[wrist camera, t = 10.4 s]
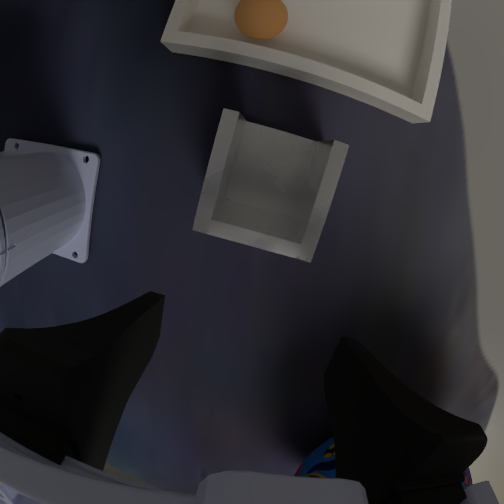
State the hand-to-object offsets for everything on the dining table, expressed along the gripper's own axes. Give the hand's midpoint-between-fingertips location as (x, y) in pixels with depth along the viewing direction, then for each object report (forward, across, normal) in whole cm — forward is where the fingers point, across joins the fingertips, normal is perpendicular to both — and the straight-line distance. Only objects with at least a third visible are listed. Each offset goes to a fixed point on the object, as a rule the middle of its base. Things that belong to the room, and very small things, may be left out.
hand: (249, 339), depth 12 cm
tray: (+9, 0, -18) cm, 20 cm away
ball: (+7, +3, -15) cm, 17 cm away
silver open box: (+9, +1, -5) cm, 11 cm away
